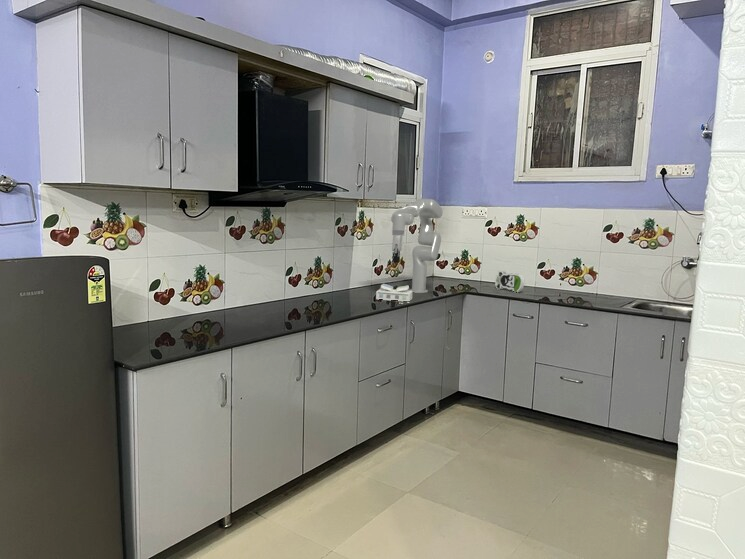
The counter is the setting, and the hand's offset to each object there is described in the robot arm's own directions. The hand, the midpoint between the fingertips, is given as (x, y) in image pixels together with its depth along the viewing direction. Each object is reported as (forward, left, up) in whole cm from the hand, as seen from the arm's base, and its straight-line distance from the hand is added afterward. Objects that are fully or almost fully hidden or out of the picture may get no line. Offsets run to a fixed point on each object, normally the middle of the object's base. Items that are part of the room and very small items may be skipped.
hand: (396, 262), depth 349 cm
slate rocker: (+2, -5, -16) cm, 17 cm away
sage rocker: (+2, +5, -16) cm, 17 cm away
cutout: (-69, +73, -23) cm, 103 cm away
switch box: (+2, 0, -23) cm, 23 cm away
